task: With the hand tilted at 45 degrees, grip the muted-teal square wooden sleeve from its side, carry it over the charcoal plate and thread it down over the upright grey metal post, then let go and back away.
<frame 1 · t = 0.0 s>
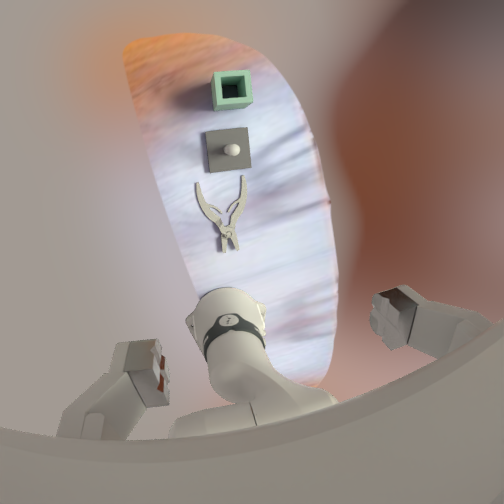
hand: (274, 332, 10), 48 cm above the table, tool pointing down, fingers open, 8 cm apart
pliers: (225, 214, 58), on the table
sleeve: (227, 95, 49), on the table
post stand: (228, 149, 53), on the table
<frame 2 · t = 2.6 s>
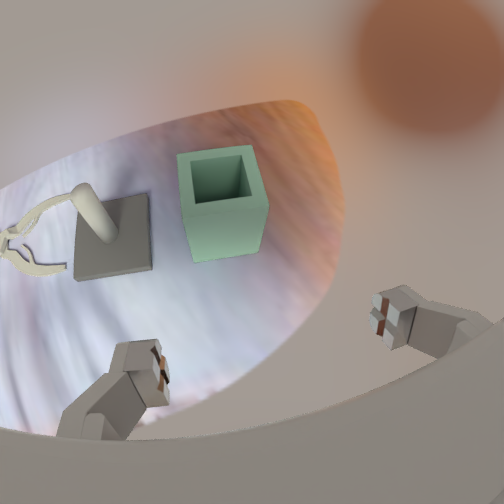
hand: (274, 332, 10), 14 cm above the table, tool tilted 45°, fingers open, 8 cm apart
pliers: (22, 244, 25), on the table
sleeve: (221, 229, 27), on the table
post stand: (112, 238, 26), on the table
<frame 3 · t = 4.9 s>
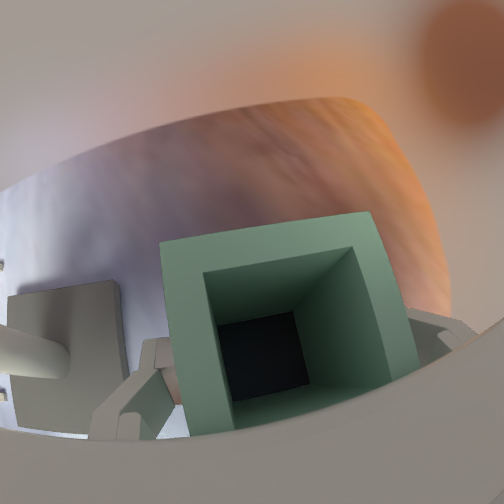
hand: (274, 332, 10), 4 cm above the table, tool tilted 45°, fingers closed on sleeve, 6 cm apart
sleeve: (263, 356, 14), on the table, touching gripper
post stand: (65, 362, 12), on the table
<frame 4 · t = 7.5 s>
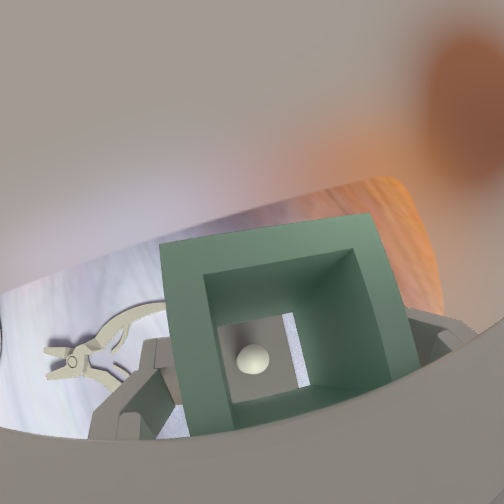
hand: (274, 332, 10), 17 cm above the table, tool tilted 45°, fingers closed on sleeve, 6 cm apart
pliers: (110, 360, 24), on the table
sleeve: (263, 357, 14), point 12 cm above the table, touching gripper
post stand: (246, 362, 25), on the table
when the fingers open (7 cm above the table, at t = 10.1 s): sleeve drops 1 cm, resting on post stand.
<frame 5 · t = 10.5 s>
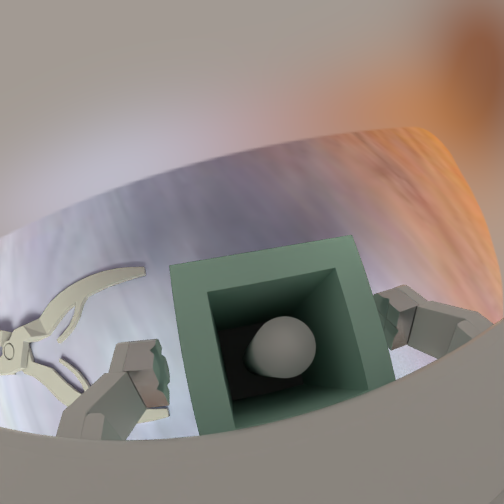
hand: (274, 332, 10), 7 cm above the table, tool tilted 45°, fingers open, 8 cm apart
pliers: (58, 352, 15), on the table
sleeve: (260, 358, 15), point 1 cm above the table, touching post stand
post stand: (259, 358, 16), on the table
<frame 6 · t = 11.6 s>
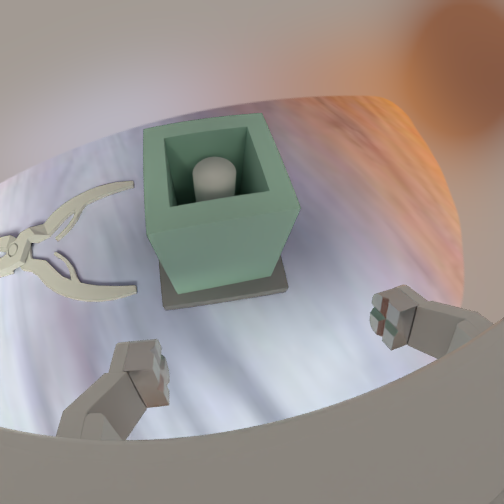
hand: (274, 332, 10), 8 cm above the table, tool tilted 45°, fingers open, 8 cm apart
pliers: (54, 251, 19), on the table
sleeve: (215, 242, 19), point 1 cm above the table, touching post stand
post stand: (217, 246, 20), on the table
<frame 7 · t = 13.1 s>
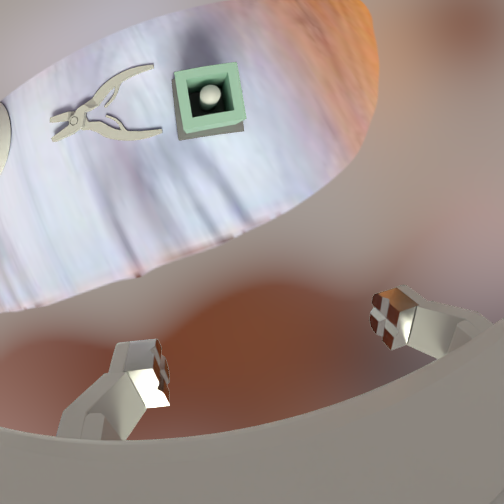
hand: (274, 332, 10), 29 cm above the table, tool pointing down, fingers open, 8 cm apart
pliers: (103, 113, 30), on the table
sleeve: (207, 105, 31), point 1 cm above the table, touching post stand
post stand: (207, 105, 32), on the table
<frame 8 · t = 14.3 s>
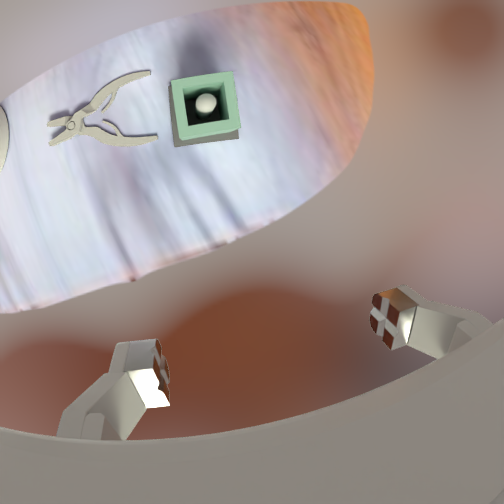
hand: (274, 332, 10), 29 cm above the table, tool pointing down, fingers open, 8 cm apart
pliers: (100, 118, 30), on the table
sleeve: (202, 113, 32), point 1 cm above the table, touching post stand
post stand: (203, 112, 32), on the table
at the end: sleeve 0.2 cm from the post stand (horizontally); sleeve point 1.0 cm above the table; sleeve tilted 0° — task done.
